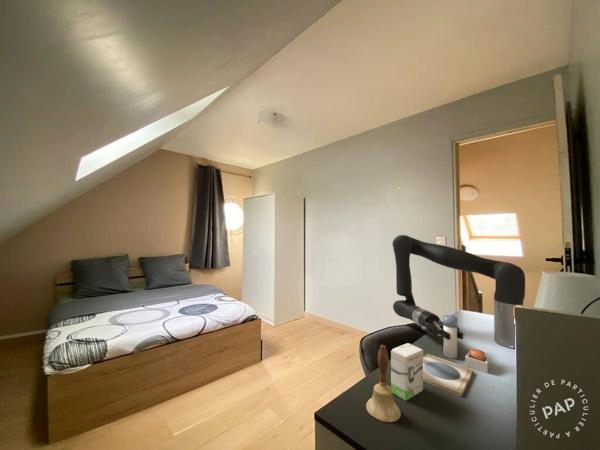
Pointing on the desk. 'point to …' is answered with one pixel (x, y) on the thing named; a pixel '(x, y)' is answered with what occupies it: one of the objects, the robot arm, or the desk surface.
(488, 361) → the button housing
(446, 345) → the white bottle
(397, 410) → the hand bell
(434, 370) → the beige flat board
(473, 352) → the button
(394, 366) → the ink box
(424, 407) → the desk surface
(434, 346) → the desk surface
